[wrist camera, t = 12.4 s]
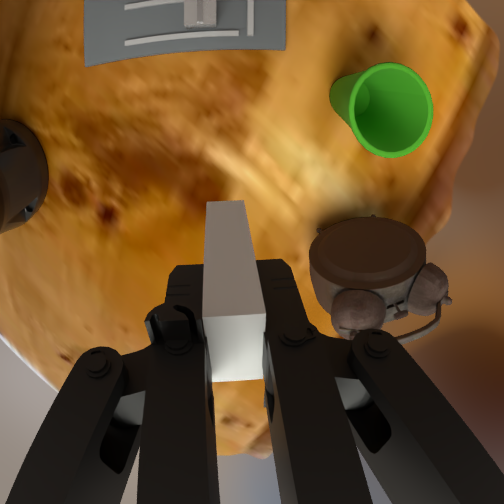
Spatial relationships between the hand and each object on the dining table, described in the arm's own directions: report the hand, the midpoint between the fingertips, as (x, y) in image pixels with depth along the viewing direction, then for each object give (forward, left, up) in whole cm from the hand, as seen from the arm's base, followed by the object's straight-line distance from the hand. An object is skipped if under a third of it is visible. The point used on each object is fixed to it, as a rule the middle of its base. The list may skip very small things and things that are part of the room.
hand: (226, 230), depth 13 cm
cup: (+15, +4, -25) cm, 29 cm away
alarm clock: (+17, -15, -25) cm, 33 cm away
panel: (-4, +18, -24) cm, 31 cm away
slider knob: (-2, +13, -23) cm, 27 cm away
